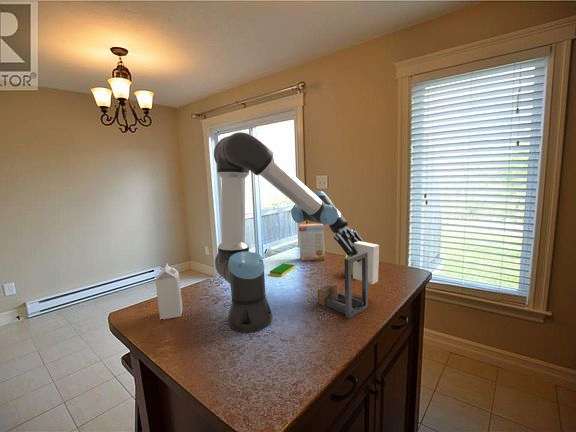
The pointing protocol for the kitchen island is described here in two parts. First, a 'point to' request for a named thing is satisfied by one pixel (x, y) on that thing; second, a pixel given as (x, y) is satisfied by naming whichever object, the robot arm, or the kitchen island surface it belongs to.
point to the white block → (372, 261)
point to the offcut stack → (327, 293)
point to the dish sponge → (282, 270)
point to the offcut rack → (347, 297)
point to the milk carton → (169, 293)
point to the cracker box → (311, 242)
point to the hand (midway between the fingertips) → (369, 266)
